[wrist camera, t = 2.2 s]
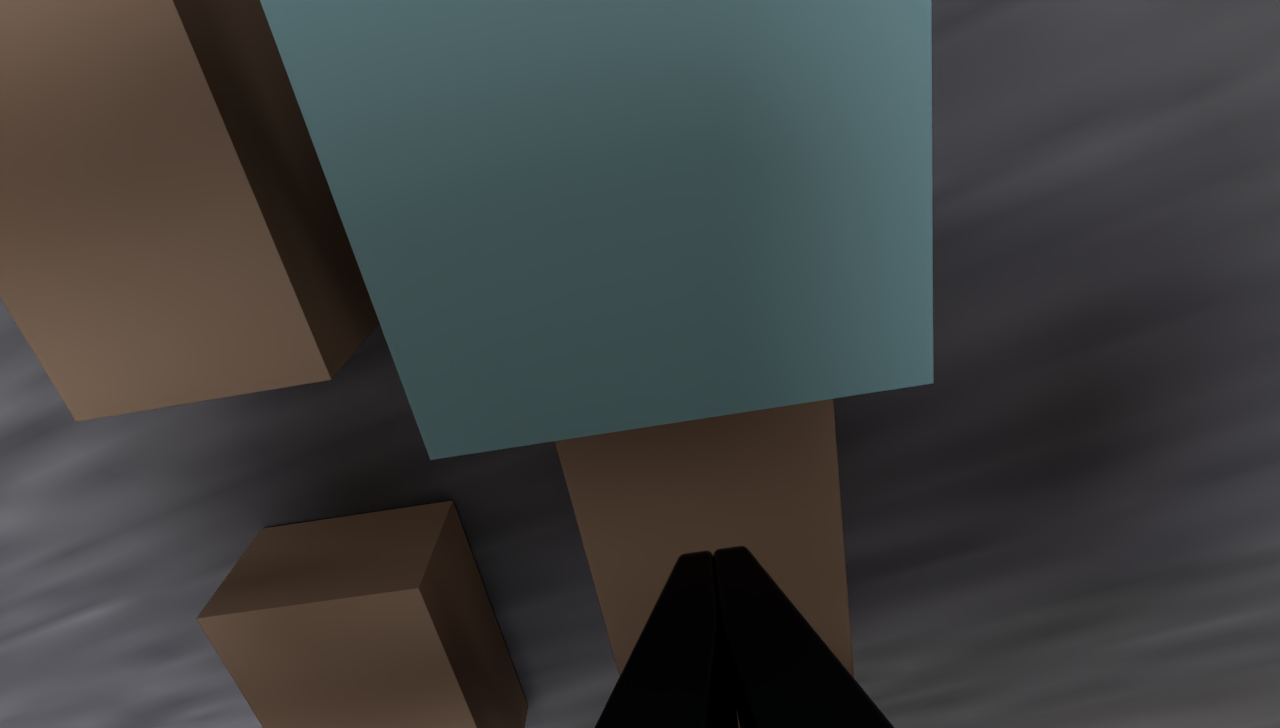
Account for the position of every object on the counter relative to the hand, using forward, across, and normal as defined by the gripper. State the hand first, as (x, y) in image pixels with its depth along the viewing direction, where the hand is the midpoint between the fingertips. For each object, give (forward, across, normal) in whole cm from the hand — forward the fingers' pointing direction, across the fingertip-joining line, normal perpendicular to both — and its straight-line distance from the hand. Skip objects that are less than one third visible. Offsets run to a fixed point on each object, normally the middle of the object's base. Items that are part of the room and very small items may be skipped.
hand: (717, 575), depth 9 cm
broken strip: (+5, +7, -1) cm, 8 cm away
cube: (+2, 0, -6) cm, 6 cm away
